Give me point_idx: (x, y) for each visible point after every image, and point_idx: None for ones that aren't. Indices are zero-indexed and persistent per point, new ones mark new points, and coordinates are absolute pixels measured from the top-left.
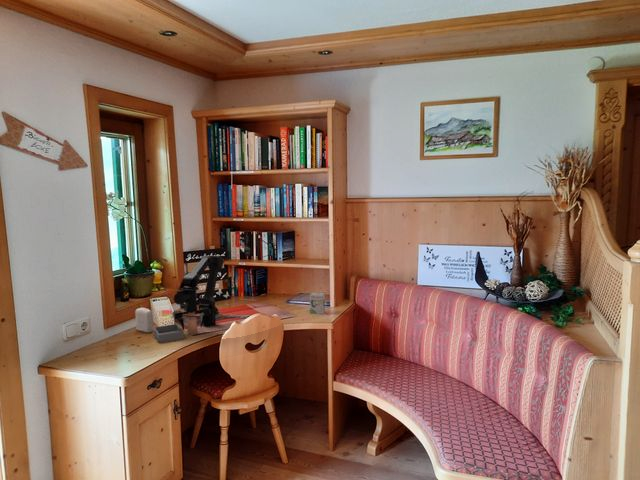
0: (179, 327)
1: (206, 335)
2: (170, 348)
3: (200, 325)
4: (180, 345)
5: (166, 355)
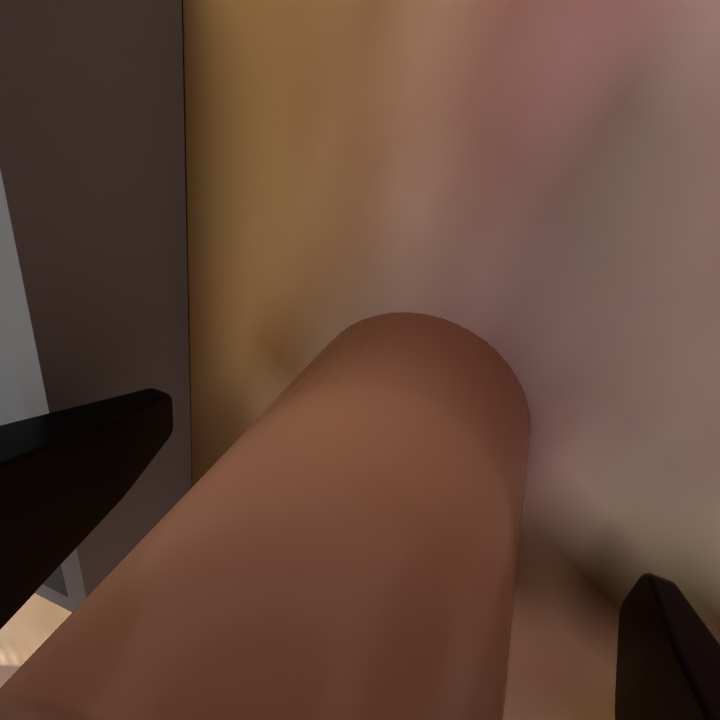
0: (24, 383)
1: (545, 685)
2: (30, 600)
3: (644, 632)
4: None
5: (7, 664)
